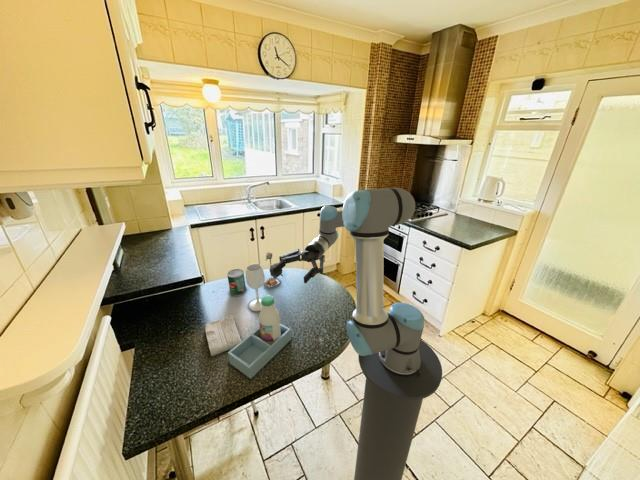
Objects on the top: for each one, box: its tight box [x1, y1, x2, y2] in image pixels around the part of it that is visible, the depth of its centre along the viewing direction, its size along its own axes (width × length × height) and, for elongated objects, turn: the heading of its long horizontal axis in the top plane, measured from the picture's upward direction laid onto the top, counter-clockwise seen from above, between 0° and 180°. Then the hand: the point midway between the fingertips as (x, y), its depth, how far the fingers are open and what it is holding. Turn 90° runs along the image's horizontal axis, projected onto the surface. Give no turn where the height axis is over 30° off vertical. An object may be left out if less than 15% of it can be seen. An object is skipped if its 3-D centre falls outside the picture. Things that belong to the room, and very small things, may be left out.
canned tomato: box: [226, 268, 247, 297], centre depth 130 cm, size 8×8×11 cm
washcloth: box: [204, 315, 242, 357], centre depth 103 cm, size 12×18×3 cm, turn 30°
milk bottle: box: [258, 295, 281, 345], centre depth 97 cm, size 8×8×20 cm
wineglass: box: [245, 263, 266, 312], centre depth 117 cm, size 9×9×21 cm
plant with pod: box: [264, 252, 284, 288], centre depth 135 cm, size 8×11×20 cm
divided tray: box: [227, 323, 292, 380], centre depth 96 cm, size 11×21×5 cm, turn 146°
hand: (289, 275), depth 96 cm, fingers open, 13 cm apart
